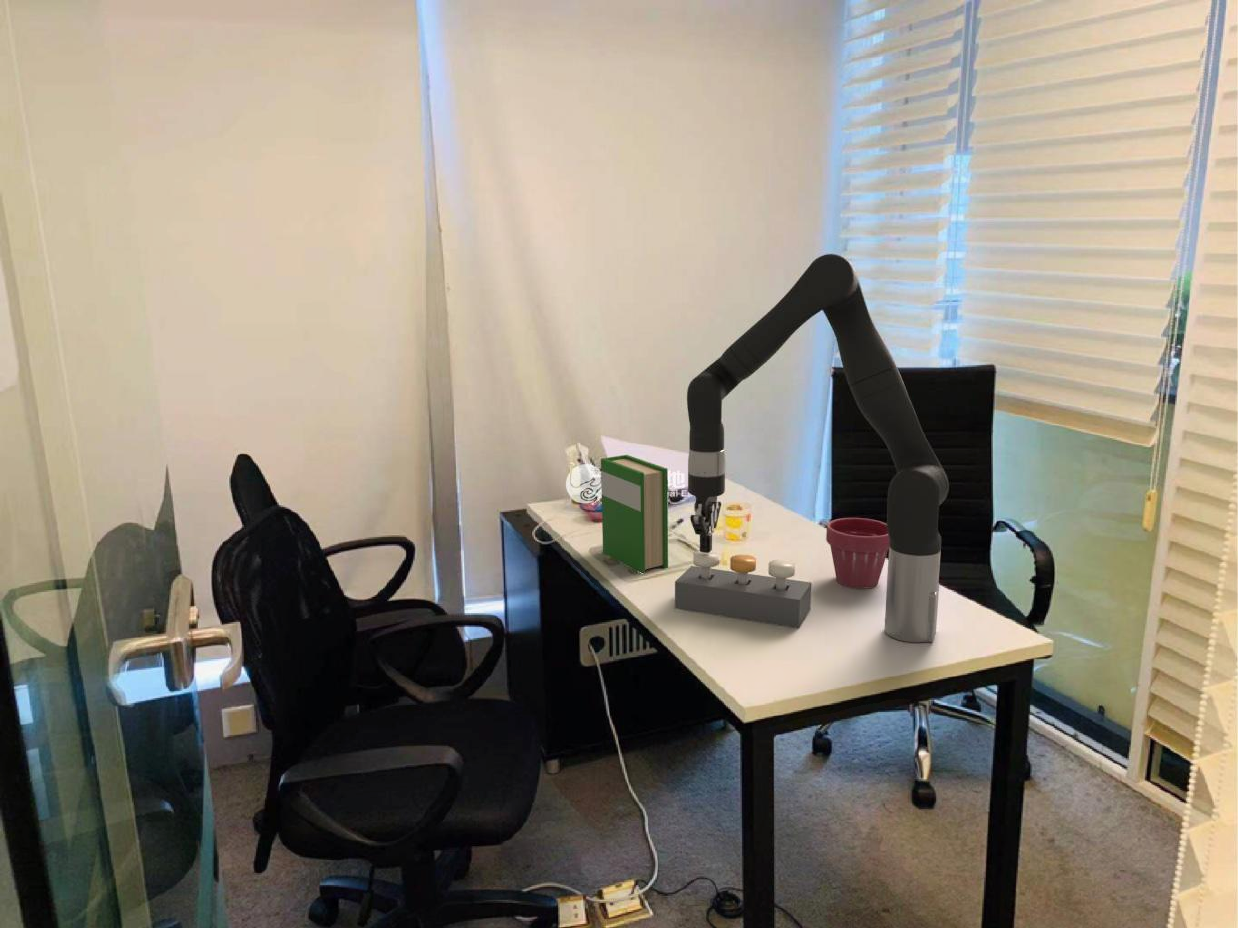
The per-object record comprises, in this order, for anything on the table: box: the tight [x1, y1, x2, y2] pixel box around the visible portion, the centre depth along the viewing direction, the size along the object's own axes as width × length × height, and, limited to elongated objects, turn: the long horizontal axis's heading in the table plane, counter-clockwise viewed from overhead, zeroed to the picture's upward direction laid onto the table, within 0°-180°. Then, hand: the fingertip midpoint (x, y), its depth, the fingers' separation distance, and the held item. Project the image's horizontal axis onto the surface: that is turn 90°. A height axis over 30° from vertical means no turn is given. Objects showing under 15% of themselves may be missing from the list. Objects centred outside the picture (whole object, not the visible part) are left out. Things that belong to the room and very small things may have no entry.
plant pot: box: [825, 517, 889, 589], centre depth 194 cm, size 14×14×13 cm
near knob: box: [768, 559, 796, 591], centre depth 177 cm, size 5×5×7 cm
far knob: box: [692, 550, 720, 580], centre depth 183 cm, size 5×5×7 cm
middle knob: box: [729, 554, 757, 585], centre depth 180 cm, size 5×5×7 cm
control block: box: [674, 565, 812, 629], centre depth 181 cm, size 26×10×6 cm, turn 65°
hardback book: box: [600, 454, 669, 574], centre depth 209 cm, size 18×7×24 cm, turn 31°
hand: (705, 551), depth 182 cm, fingers closed
